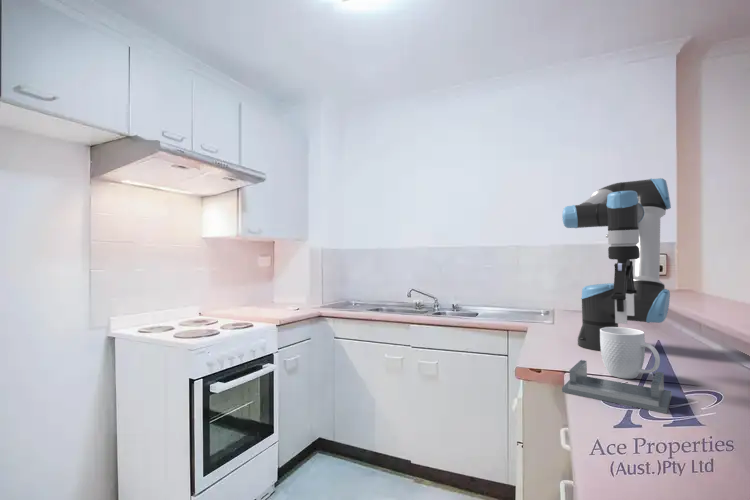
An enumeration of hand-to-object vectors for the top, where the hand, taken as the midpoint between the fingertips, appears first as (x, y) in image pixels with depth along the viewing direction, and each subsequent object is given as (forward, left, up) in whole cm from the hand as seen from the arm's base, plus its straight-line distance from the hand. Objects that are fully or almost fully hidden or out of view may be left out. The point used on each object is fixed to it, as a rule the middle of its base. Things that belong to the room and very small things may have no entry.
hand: (625, 319), depth 112 cm
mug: (0, 0, -17) cm, 17 cm away
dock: (+17, 0, -16) cm, 24 cm away
